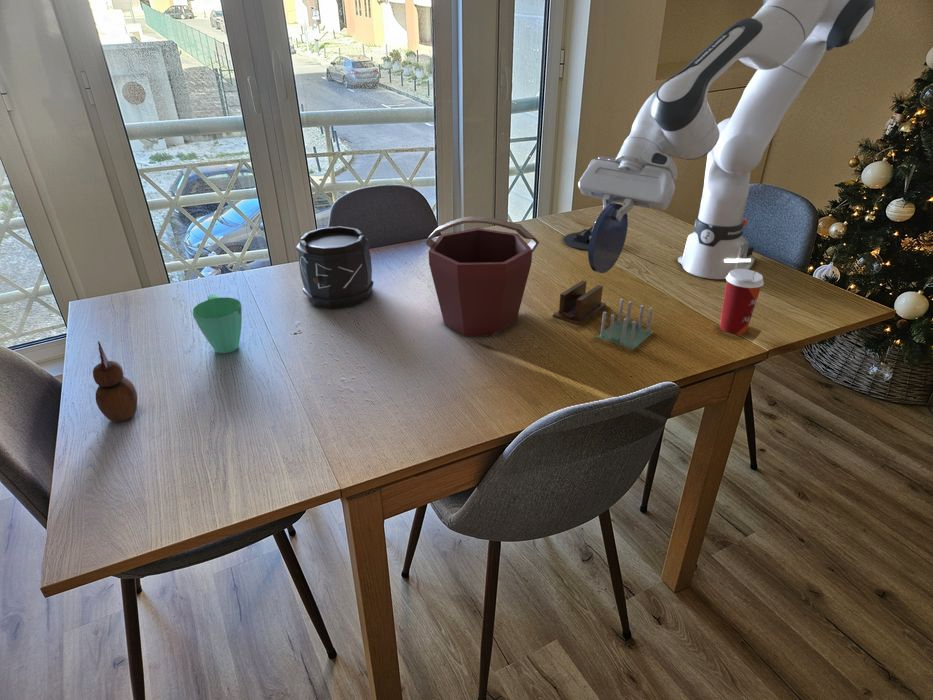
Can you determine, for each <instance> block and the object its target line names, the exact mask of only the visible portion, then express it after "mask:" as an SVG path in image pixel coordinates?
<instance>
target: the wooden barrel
mask: <svg viewBox="0 0 933 700" xmlns="http://www.w3.org/2000/svg"><path fill="white" fill-rule="evenodd" d="M369 246H370V240H369V239H368V237H366V236H365V233H364V232H362V231H361V230H359V229H358V228H355V227H349V226H341V225H338V226H328V227H327V226H326V227H319V228H316V229H314V230H310V231H308V232H307V231H306V232H305V233H304V234H303V236H302V237H300V239H299V243H298V244H297V245H296V247H295V251H296V252H298V267H299V272H300V278H301V281H302V285H303V288H302V293H303V294H304V295H305V297H307V298H308V300H309V301H310V302H311V303H312V304H313V305H314V306H316V307H321V308H326V309H331V310H332V309H333V310H334V309H341V308H349V307H353V306H356V305H357V304H361V303H362V302H364V301H367V299H368V297H369V296H370V293H371V290H372V289H373V287H374V281H373V279H372V277H373V276H372V275H373V267H372V257H371V251H370V247H369Z"/></svg>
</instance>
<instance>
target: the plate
mask: <svg viewBox="0 0 933 700" xmlns="http://www.w3.org/2000/svg"><path fill="white" fill-rule="evenodd" d="M622 206H624V204H622V203H618V202H612V203H611V204H608V206H606V207H605V208H604V207H603V208H604V210H603V209H602V210H603V211H602V210H601V212H600V213H599V215H598V217H597V219H596V220H595V222H594V223H595V224H593V226H594V227H593V226H592V227H593V230H592V233H591V237H590V242H589V249H588V250H587V251H588V252H587V253H588V254H587V255H588V256H587V257H588V263H589V267H590V268H591V270H592V271H593V272H595V273H598V274H605V273H608V272H609V271H611V269H612V268H613V267H614V266H615V265H616V263H617V262H618V260H619V258H620V256H621V253H622V251H623V248H624V246H625V242H626V239H627V234H628V228H629V227H628V226H629V219H628V217H629V216H628V212H627V213H626V214H625V215H623V217H622V219H621V221H616V220H613V218H612V215H613V213H614V211H615V209H616V210H619V209H620V208H621V207H622Z"/></svg>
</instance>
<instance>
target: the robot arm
mask: <svg viewBox="0 0 933 700" xmlns="http://www.w3.org/2000/svg"><path fill="white" fill-rule="evenodd" d="M875 11H876V0H762V6H761V7H760V8H759V9H758V11H757V12H756V13H755V14H754V15H753V16H751V17H745V18H742V19H739V20H737V21H735V22H733V24H731V25H730V26H728V27H727V28H726V29H724V31H722V32H721V33H720V34H719V35H718V36H717V37H716V38H715V39H714V40H713V41H711V43H709V44H708V45H707V46H706V47H704V49H702V51H701V52H700V53H698V54H697V55H696V56H695V57H694V58H693V59H692V60H691V61H690V62H689V63H687V64H686V66H684V67H683V68H682V69H681V70H680V71H678V72H677V73H675V74H674V75H672V76H671V77H669V78H668V79H666V80H665V81H664V82H663V83H662V84H661V85H659V86H658V88H657V89H656V91H655V92H653V93H652V94H651V95H650V96H649V97H648V98H647V99H645V101H644V103H643V104H642V106H641V108H640V109H639V111H638V112H637V115H636V117H635V119H634V121H633V123H632V125H631V130H630V133H629V135H628V136H627V137H626V138H625V139H624V141H623V144H622V145H621V147H620V149H619V152H618V154H617V155H616V157H611V156H610V157H608V156H604V155H598V157H595V158H593V159H591V160H590V161H589V163H588V166H587V168H586V169H585V170H584V172H583V174H582V175H581V177H580V178H579V180H578V183H577V185H578V186H577V187H578V189H579V191H580V193H581V194H582V196H587V197H590V198H597V199H599V200H602V205H603V206H602V207H603V208H602V210H601V212H602V211H603V210H604V208H605V207H606V206H608V205H609V204H611V203H619V204H623V206H622V207H621V208H620V209H619V210H616V209H615V211H614V213H613V215H612V218H613V220H616V221H621V219H622V217H623V215H625V214H626V213H627V214H628V213H629V212H630V211H631V210H633V207H640V208H645V209H650V210H654V211H655V210H656V211H660V212H663V211H665V210H666V209H668V208H669V206H670V205H671V201H672V199H673V198H674V194H675V190H676V184H675V182H676V181H677V180H678V176H679V175H678V168H677V166H676V164H675V161H674V159H673V158H676V159H680V160H687V161H689V160H690V161H692V160H693V161H694V160H698V159H700V158H703V157H704V156H706V164H705V165H706V166H705V171H704V181H703V188H702V195H701V199H700V204H699V211H698V216H696V218H695V221H694V227H693V232H691V233H690V234H688V235H687V239H686V243H685V247H684V250H683V255H680V256H679V257H678V258H677V262H678V263H679V264H681V266H682V269H683V270H684V271H685V272H687V273H688V274H690V275H693V276H696V277H700V278H704V279H710V280H726V276H727V275H728V274H729V272H730V271H731V270H735V269H747V270H751V268H752V267H753V265H754V263H755V258H754V257H753V256H752V255H753V253H754V249H755V247H754V246H751V245H750V242H749V241H748V240H747V239H746V237H745V236H744V235H743V234H744V230H745V229H744V228H745V227H746V226H747V224H748V218H744V215H745V212H746V211H745V210H746V207H747V202H748V198H749V194H750V181H751V173H752V171H753V170H755V169H756V167H757V166H758V165H759V164H760V162H761V161H762V158H763V156H764V153H765V152H766V150H767V148H768V146H769V144H770V143H771V141H772V140H773V138H774V136H775V134H776V132H777V130H778V128H779V126H780V124H781V122H782V121H783V118H784V117H785V115H786V113H787V112H788V111H789V109H790V107H791V105H792V104H793V103H794V101H795V100H796V98H797V97H798V96H799V94H800V92H801V91H802V90H803V88H804V87H805V85H806V84H807V82H808V81H809V80H810V78H811V76H812V75H813V73H814V72H815V70H816V69H817V67H818V65H820V62H821V61H822V59H823V57H824V55H825V53H826V52H827V51H828V52H829V51H831V50H833V49H834V48H842V47H845V46H848V45H849V44H852V43H853V42H854V41H855V40H856V39H857V38H858V37H860V36H861V35H862V34H863V32H865V30H866V29H867V28H868V26H869V24H871V20H872V19H873V15H874V12H875ZM737 61H739V62H740V63H742V64H744V65H745V66H747V67H749V68H752V69H755V70H756V71H755V73H754V74H753V76H752V77H751V79H750V80H749V82H748V83H747V85H746V87H745V88H744V90H743V93H742V95H741V98H740V99H739V101H738V103H737V106H736V107H735V109H734V111H733V113H732V115H731V117H727V118H725V119H723V120H722V121H720V122H718V123H717V119H716V117H715V116H714V115H715V114H714V113H713V111H712V109H711V107H710V104H709V101H708V93H709V89H710V87H711V85H712V84H713V83H714V82H716V80H717V79H718V78H720V76H722V75H723V74H724V73H725V72H726V71H727V70H728V69H729V68H730V67H732V65H733V64H734V63H735V62H737Z"/></svg>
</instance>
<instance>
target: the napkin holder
mask: <svg viewBox="0 0 933 700" xmlns="http://www.w3.org/2000/svg"><path fill="white" fill-rule="evenodd" d="M603 286H604V285H600V284H597V285H596V286H595V287H593V288H592V289H590V290H588V291H587V280H582V279H581V280H580V281H579V282H577V283H575V284H574V285H573V286H571V287H569V288H568V289H566V290H565V291H563V292H561V293H560V295H559V307H558V310H557V311H556V312H555V313H553V314H552V317H553V318H556V319H558V320H562V321H564V322H568V323H571V324H572V325H573V324H574V325H577V326H581V324H583V323H584V322H585V321H587V320H588V319H590V318H591V317H593V316H594V315H595V314H597V313H598V312H600V311H601V310H603V308H605V307H606V306H607V303H606V302H602V297H603V290H604V289H603V288H604V287H603ZM586 291H587V292H586Z"/></svg>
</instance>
